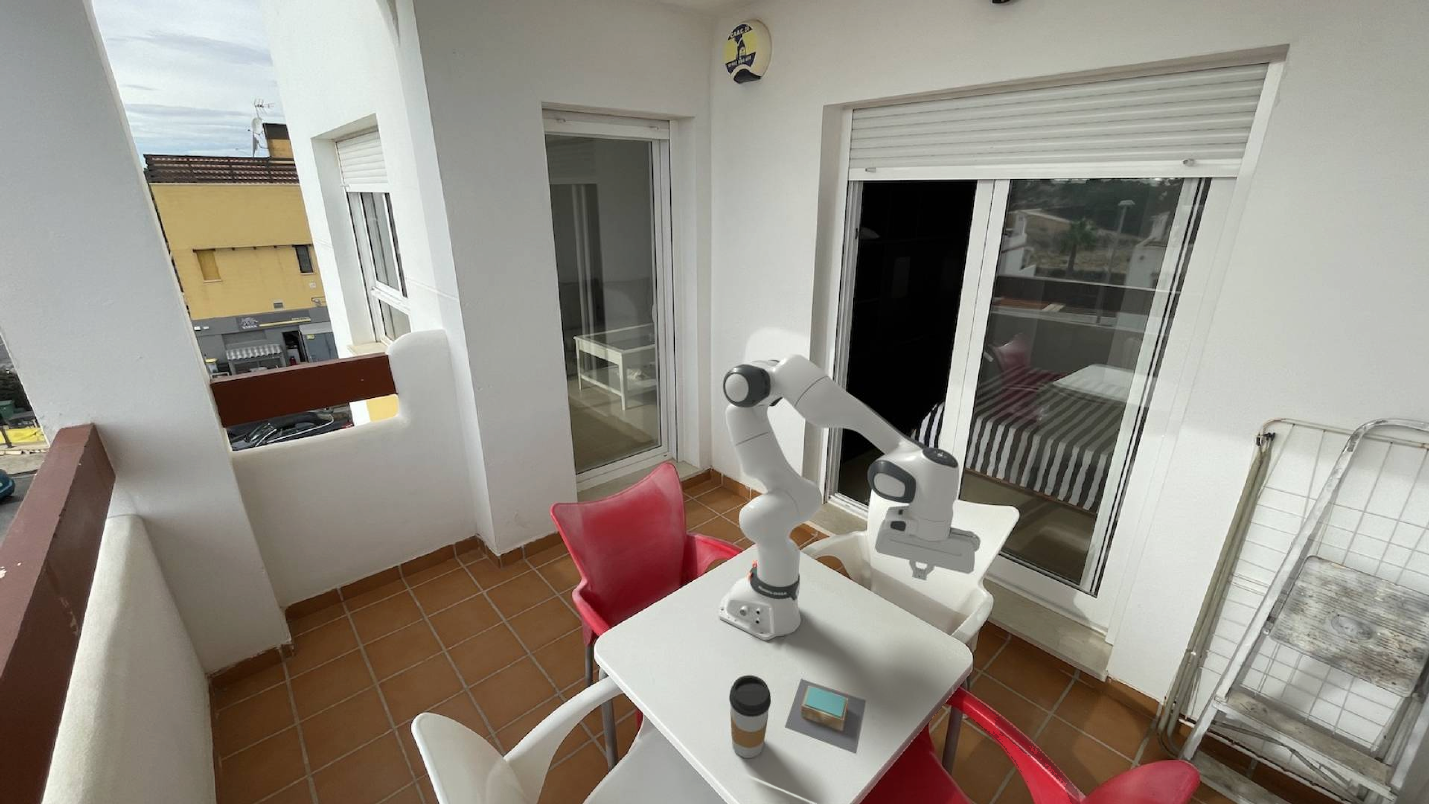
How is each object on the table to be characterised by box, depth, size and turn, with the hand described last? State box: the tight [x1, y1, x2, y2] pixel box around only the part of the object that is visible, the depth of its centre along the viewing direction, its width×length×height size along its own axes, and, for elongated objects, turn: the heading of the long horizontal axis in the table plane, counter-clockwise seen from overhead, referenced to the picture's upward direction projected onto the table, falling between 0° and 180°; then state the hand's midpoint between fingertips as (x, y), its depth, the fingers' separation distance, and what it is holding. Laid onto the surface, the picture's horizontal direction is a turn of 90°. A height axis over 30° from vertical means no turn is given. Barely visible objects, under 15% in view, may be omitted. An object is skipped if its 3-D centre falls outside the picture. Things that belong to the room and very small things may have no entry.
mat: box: [784, 678, 866, 754], centre depth 120 cm, size 15×14×1 cm
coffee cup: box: [728, 674, 772, 759], centre depth 110 cm, size 8×8×15 cm
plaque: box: [801, 685, 848, 731], centre depth 119 cm, size 3×6×9 cm
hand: (919, 577), depth 120 cm, fingers closed
